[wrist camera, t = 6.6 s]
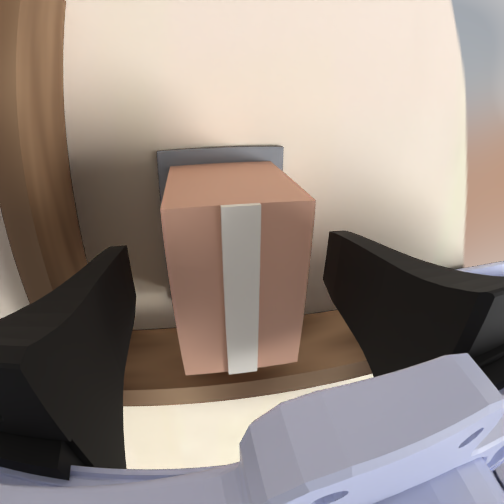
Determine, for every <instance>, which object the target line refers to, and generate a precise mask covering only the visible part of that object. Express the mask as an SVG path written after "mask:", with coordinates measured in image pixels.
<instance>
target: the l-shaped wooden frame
mask: <svg viewBox="0 0 504 504" xmlns="http://www.w3.org/2000/svg"><path fill="white" fill-rule="evenodd" d="M65 7H66V1H65V0H0V207H1V211H2V216H3V220H4V224H5V228H6V231H7V235H8V239H9V242H10V246H11V249H12V253H13V256H14V259H15V262H16V266H17V269H18V272H19V275H20V278H21V281H22V283H23V286H24V289H25V292H26V294H27V297H28V300H29V302H30V304H31V303H33V302H35V301H37V300H39V299H40V298H42V297H43V296H45V295H47V294H48V293H50V292H51V291H53V290H54V289H56V288H57V287H59V286H60V285H61V284H63V283H64V282H65V281H66V280H68V279H69V278H70V277H72V276H73V275H74V274H76V273H77V272H78V271H79V270H81V269H82V268H83V267H84V266H86V265H87V260H86V256H85V251H84V247H83V242H82V238H81V233H80V228H79V223H78V218H77V212H76V207H75V201H74V195H73V188H72V182H71V175H70V167H69V159H68V150H67V140H66V129H65V115H64V96H63V38H64V20H65ZM368 374H372V371H371V369H370V366H369V364H368V362H367V360H366V357H365V355H364V353H363V351H362V349H361V347H360V345H359V343H358V342H357V340H356V338H355V337H354V335H353V334H352V332H351V330H350V329H349V327H348V325H347V324H346V322H345V321H344V319H343V318H342V316H341V314H340V313H339V311H338V310H334V311H328V312H321V313H314V314H306V315H304V317H303V325H302V332H301V339H300V346H299V353H298V360H297V362H293V363H287V364H280V365H274V366H267V367H260V368H257V371H254V372H246V373H238V374H229V372H218V373H208V374H197V375H185V370H184V365H183V360H182V355H181V350H180V344H179V339H178V333H177V328H167V329H151V330H133V331H132V334H131V339H130V344H129V350H128V355H127V361H126V366H125V373H124V386H123V406H158V405H178V404H193V403H205V402H215V401H225V400H234V399H242V398H250V397H257V396H264V395H271V394H277V393H283V392H289V391H295V390H300V389H306V388H311V387H316V386H321V385H326V384H330V383H335V382H339V381H344V380H348V379H352V378H356V377H360V376H364V375H368Z"/></svg>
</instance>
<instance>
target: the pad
mask: <svg viewBox="0 0 504 504" xmlns="http://www.w3.org/2000/svg"><path fill="white" fill-rule="evenodd" d="M157 161H158V176H159V189H160V201H161V204H162V199H163V195H164V190H165V186H166V182H167V177H168V173H169V169H170V166H181V165H195V164H211V163H231V162H260V161H271V162H272V163H273V164H274V165H276V166H277V167H278V168H279V169H280V170H282V171H283V147H282V146H246V147H214V148H194V149H178V150H165V151H157Z"/></svg>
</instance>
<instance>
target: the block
mask: <svg viewBox="0 0 504 504" xmlns="http://www.w3.org/2000/svg"><path fill="white" fill-rule="evenodd" d="M315 203H316V200H315V199H313V198H312V197H311V196H310V195H309V194H308V193H307V192H306V191H304V190H303V189H302V188H301V187H300V186H299V185H298V184H297V183H295V182H294V181H293V180H292V179H291V178H290V177H288V176H287V175H286V174H285V173H284V172H283V171H282V170H280V169H279V168H278V167H277V166H276V165H274V164H273V163H272V162H271V161H260V162H231V163H211V164H195V165H181V166H170V169H169V173H168V177H167V182H166V186H165V190H164V195H163V199H162V204H161V208H160V213H161V222H162V231H163V240H164V248H165V256H166V263H167V270H168V278H169V284H170V291H171V298H172V304H173V310H174V316H175V322H176V328H177V333H178V339H179V344H180V350H181V355H182V360H183V365H184V370H185V375H197V374H208V373H218V372H229V374H238V373H246V372H254V371H257V368H260V367H267V366H274V365H280V364H287V363H293V362H297V360H298V353H299V346H300V339H301V332H302V325H303V317H304V309H305V301H306V293H307V284H308V275H309V266H310V257H311V247H312V237H313V226H314V215H315Z"/></svg>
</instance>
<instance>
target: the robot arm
mask: <svg viewBox="0 0 504 504" xmlns="http://www.w3.org/2000/svg"><path fill="white" fill-rule="evenodd" d="M323 280H324V283H325V285H326V288H327V290H328V293H329V295H330V297H331V299H332V301H333V303H334V305H335V306H336V308H337V309H338V311H339V313H340V314H341V316H342V318H343V319H344V321H345V322H346V324H347V325H348V327H349V329H350V330H351V332H352V334H353V335H354V337H355V338H356V340H357V342H358V343H359V345H360V347H361V349H362V351H363V353H364V355H365V357H366V360H367V362H368V364H369V366H370V369H371V371H372V374H373V376H374V377H373V378H369V379H366V380H362V381H358V382H354V383H350V384H345V385H341V386H337V387H332V388H328V389H323V390H318V391H315V392H312V393H309V394H306V395H303V396H300V397H297V398H294V399H291V400H288V401H285V402H282V403H280V404H278V405H277V406H275V407H274V408H272V409H271V410H270V411H268V412H267V413H265V414H263V415H262V416H260V417H259V418H257V419H256V420H254V421H253V422H252V423H251V424H250V425H249V427H248V429H247V431H246V433H245V435H244V437H243V438H242V440H241V442H240V462H236V463H233V464H229V465H222V466H212V467H200V468H184V469H126V460H125V448H124V431H123V386H124V373H125V366H126V361H127V355H128V350H129V344H130V339H131V334H132V329H133V324H134V318H135V304H136V293H135V288H134V283H133V278H132V273H131V268H130V262H129V257H128V251H127V246H115V247H109V248H107V249H106V250H104V251H103V252H102V253H100V254H99V255H98V256H97V257H95V258H94V259H93V260H92V261H90V262H89V263H88V264H87V265H86V266H84V267H83V268H82V269H81V270H79V271H78V272H77V273H76V274H74V275H73V276H72V277H70V278H69V279H68V280H66V281H65V282H64V283H63V284H61V285H60V286H59V287H57V288H56V289H54V290H53V291H51V292H50V293H48V294H47V295H45V296H43V297H42V298H40V299H39V300H37V301H35V302H33V303H31V304H30V305H28V306H26V307H24V308H22V309H20V310H18V311H16V312H14V313H12V314H10V315H8V316H6V317H3V318H1V319H0V504H504V261H501V262H496V263H490V264H484V265H479V266H473V267H468V268H461V269H450V268H446V267H442V266H438V265H435V264H432V263H429V262H425V261H422V260H419V259H416V258H414V257H411V256H409V255H406V254H403V253H401V252H398V251H396V250H393V249H391V248H389V247H386V246H384V245H382V244H379V243H377V242H375V241H372V240H370V239H367V238H365V237H363V236H360V235H357V234H355V233H351V232H348V231H331V232H329V239H328V247H327V255H326V262H325V269H324V276H323Z"/></svg>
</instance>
